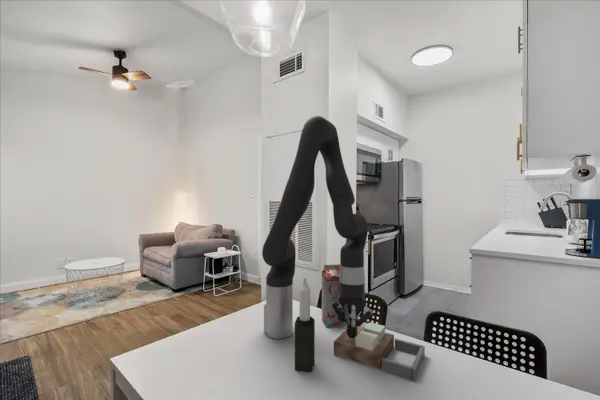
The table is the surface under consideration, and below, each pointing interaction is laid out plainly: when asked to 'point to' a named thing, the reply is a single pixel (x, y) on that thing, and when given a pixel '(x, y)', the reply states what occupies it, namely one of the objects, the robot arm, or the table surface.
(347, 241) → the robot arm
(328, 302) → the juice carton
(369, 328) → the sage tile
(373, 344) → the cream tile
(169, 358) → the table surface
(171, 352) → the table surface
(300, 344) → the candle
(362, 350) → the walnut board
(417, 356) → the tray
